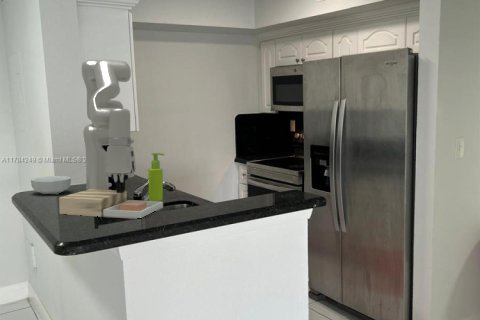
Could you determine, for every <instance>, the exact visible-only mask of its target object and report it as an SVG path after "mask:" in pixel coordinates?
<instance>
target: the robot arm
mask: <svg viewBox="0 0 480 320" xmlns="http://www.w3.org/2000/svg"><path fill="white" fill-rule="evenodd" d="M81 76H82V80H83V82H84V85H85V88H86V115H87V118H88V120H90V122H91V124H88V125H85V126H84V127H83V128H84V129H83V131H82V132H83V133H82V134H83V136H82V137H83V141H84V142H83V143H84V148H85V173H86V174H85V180H86V181H85V182H86V185H85V187H86V190H89V189H93V190H109V188H110V187H112V183H111V182H109V178H111V179H112V180H114V181H113V182H114V183H115V191H116V192H117V193H123V192H124V191H126V182H127V180H128V179H129V178H133V177H135V172H136V169H137V168H136V155H135V150H134V146H131V145H132V144H134V143H135V139H132V137H131V111H130V110H129V109H128V108H124V105H123V103H122V102H121V101H119V100H116V99H115V98H117V97H118V96H119V94H120V92H121V87H120V84H119V82H121V83H127V82H129V81H130V79H131V76H132V73H131V67H130V65H129V63H128V62H126V61H123V60H111V59H102V60H100V59H88V60H85V61H83V62H82V64H81ZM114 99H115V100H114ZM103 146H107V149H106V150H105V149H104V147H103Z"/></svg>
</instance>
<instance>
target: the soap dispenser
mask: <svg viewBox="0 0 480 320" xmlns="http://www.w3.org/2000/svg"><path fill="white" fill-rule="evenodd" d="M158 155H160V156H165V155H166V154H165V153H163V152H153V153H151V156H153V159H152V160H151V168H149V169H148V201H157V202H163V200H164V197H163V196H164V191H163V190H164V188H163V185H164V184H163V183H164V179H163V177H164V176H163V175H164V174H163V171H164V170H163V168H161V167H160V165H161V164H160V163H161V162H160V160H158V159H159V158H158Z"/></svg>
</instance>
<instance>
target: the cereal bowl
mask: <svg viewBox="0 0 480 320" xmlns="http://www.w3.org/2000/svg"><path fill="white" fill-rule="evenodd" d="M30 183H31V188H32V189H33V190H34V191H35V192H37V193H40V194H41V195H43V194H56V195H60V194H59V193H61V192H62V193H63V192H64V191H66V190H68V189H69V188H70V187H71V184H72V179H71V177H70V176H65V175H63V176H61V175H60V176H59V175H53V176H51V175H50V176H41V177H33V178H32V179H31V180H30ZM62 193H61V194H62Z"/></svg>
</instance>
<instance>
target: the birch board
mask: <svg viewBox="0 0 480 320" xmlns="http://www.w3.org/2000/svg"><path fill="white" fill-rule="evenodd" d="M127 191H128V190H125V191H124V192H123V193H117V192H116V190H111V189H108V190H93V189H89V190H82V191H78V192H75V193H71V194H68V195H67V194H66V195H64V196H60V197H58V199H59V200H58V201H59V202H58V203H59V205H58V207H59V209H58V210H59V215H63V214H67V215H66V216H80V215H82V216H83V217H97V216H98V217H100V218H101V217H104V216H103V210H104V209H107V208H110V207H112V206H115V205H117V204H120V203H123V202H125V201H128V200H127V199H128V198H127V197H128V195H127V193H128V192H127ZM98 217H97V218H98Z"/></svg>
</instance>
